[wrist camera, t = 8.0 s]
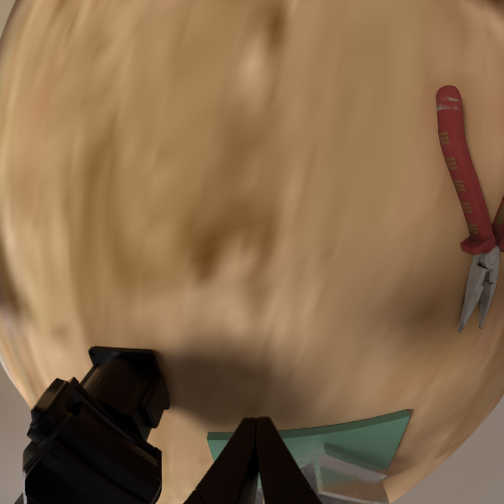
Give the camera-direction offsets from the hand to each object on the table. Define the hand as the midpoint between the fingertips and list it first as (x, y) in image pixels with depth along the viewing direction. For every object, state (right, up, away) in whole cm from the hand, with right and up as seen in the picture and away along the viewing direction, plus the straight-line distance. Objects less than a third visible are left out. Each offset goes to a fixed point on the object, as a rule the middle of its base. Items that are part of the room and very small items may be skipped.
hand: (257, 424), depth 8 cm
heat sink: (+7, -21, +17) cm, 28 cm away
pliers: (+18, +10, +10) cm, 23 cm away
